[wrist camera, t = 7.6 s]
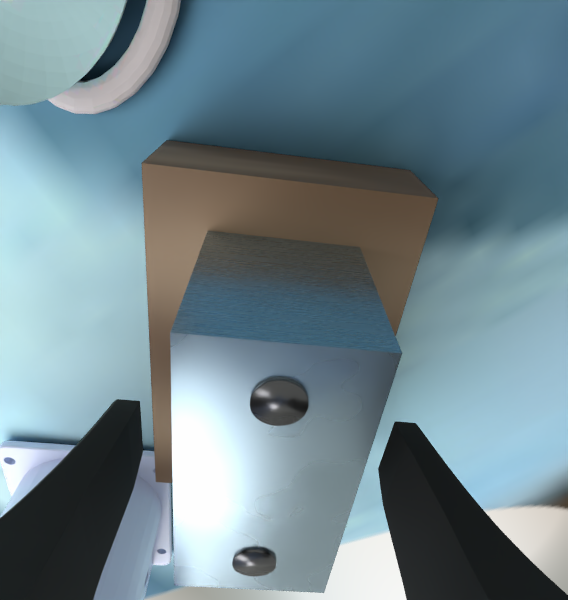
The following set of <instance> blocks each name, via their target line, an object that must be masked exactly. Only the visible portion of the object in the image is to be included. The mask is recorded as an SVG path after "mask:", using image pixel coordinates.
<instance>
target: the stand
mask: <svg viewBox="0 0 568 600" xmlns="http://www.w3.org/2000/svg"><path fill="white" fill-rule="evenodd" d="M142 181H143V204H144V226H145V249H146V272H147V295H148V317H149V340H150V363H151V386H152V408H153V431H154V454H155V477H156V482H162V483H173V475H172V413H171V350H170V332H171V329H172V326H173V324H174V321H175V318H176V315H177V313H178V310H179V307H180V305H181V302H182V299H183V296H184V294H185V291H186V288H187V285H188V283H189V280H190V277H191V275H192V272H193V269H194V266H195V264H196V261H197V258H198V256H199V253H200V250H201V247H202V245H203V242H204V239H205V236H206V234H207V231H217V232H226V233H235V234H244V235H254V236H263V237H272V238H282V239H291V240H300V241H309V242H319V243H328V244H337V245H347V246H356V247H360V248H361V251H362V253H363V256H364V258H365V261H366V264H367V266H368V269H369V271H370V274H371V276H372V279H373V281H374V284H375V286H376V289H377V291H378V294H379V296H380V299H381V302H382V304H383V307H384V309H385V312H386V314H387V317H388V319H389V322H390V324H391V327H392V329H393V332H394V335H395V336H396V333H397V330H398V327H399V323H400V320H401V317H402V314H403V311H404V307H405V304H406V301H407V298H408V295H409V291H410V288H411V285H412V282H413V278H414V275H415V272H416V269H417V266H418V262H419V259H420V256H421V253H422V250H423V246H424V243H425V240H426V237H427V233H428V230H429V227H430V224H431V221H432V217H433V214H434V211H435V208H436V205H437V201H438V198H437V197H436V196H435V195H434V194H433V193H432V192H431V191H430V190H429V189H428V188H427V187H426V186H425V185H424V184H423V183H422V182H421V181H420V180H419V179H418V178H417V177H416V176H415V175H414V174H413V173H412V172H411V171H410V170H405V169H397V168H389V167H380V166H372V165H364V164H356V163H348V162H340V161H332V160H324V159H316V158H308V157H299V156H291V155H283V154H275V153H267V152H259V151H251V150H243V149H235V148H227V147H218V146H210V145H202V144H194V143H186V142H178V141H170V140H166V141H165V142H164V143H163V144H162V145H161V146H160V147H159V148H158V149H157V150H155V151H154V152H153V153H152V154H151V155H150V156H149V157H148V158H147V159H146V160H144V161H143V162H142Z"/></svg>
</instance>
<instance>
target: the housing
mask: <svg viewBox="0 0 568 600" xmlns="http://www.w3.org/2000/svg"><path fill="white" fill-rule="evenodd" d="M170 350H171V413H172V475H173V538H174V585H176V586H196V587H198V586H199V587H217V588H237V589H258V590H259V589H260V590H278V591H299V592H318V593H324V591H325V588H326V585H327V582H328V579H329V575H330V573H331V570H332V566H333V563H334V560H335V557H336V554H337V551H338V548H339V545H340V542H341V539H342V536H343V533H344V530H345V527H346V524H347V521H348V517H349V514H350V511H351V508H352V505H353V502H354V499H355V496H356V493H357V490H358V487H359V484H360V481H361V478H362V475H363V471H364V468H365V465H366V462H367V459H368V456H369V453H370V450H371V447H372V444H373V441H374V438H375V435H376V432H377V429H378V425H379V422H380V419H381V416H382V413H383V410H384V407H385V404H386V401H387V398H388V395H389V392H390V389H391V386H392V383H393V379H394V376H395V373H396V370H397V367H398V364H399V361H400V358H401V355H402V352H401V350H400V347H399V345H398V342H397V340H396V337H395V335H394V332H393V329H392V327H391V324H390V322H389V319H388V317H387V314H386V312H385V309H384V307H383V304H382V302H381V299H380V296H379V294H378V291H377V289H376V286H375V284H374V281H373V279H372V276H371V274H370V271H369V269H368V266H367V264H366V261H365V258H364V256H363V253H362V251H361V248H360V247H356V246H347V245H337V244H328V243H319V242H309V241H300V240H291V239H282V238H272V237H263V236H254V235H244V234H235V233H226V232H217V231H207V234H206V236H205V239H204V242H203V245H202V247H201V250H200V253H199V256H198V258H197V261H196V264H195V266H194V269H193V272H192V275H191V277H190V280H189V283H188V285H187V288H186V291H185V294H184V296H183V299H182V302H181V305H180V307H179V310H178V313H177V315H176V318H175V321H174V324H173V326H172V329H171V332H170Z"/></svg>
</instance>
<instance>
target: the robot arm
mask: <svg viewBox="0 0 568 600" xmlns="http://www.w3.org/2000/svg"><path fill="white" fill-rule="evenodd" d="M0 463H1V466H2V469H3V472H4V476H5V479H6V482H7V485H8V488H9V491H10V495H11V499H10V501H9V502H8V504H7V506H6V507H5V509H4V511H3V513H2V514H1V516H0V600H144V598H145V594H146V590H147V585H148V581H149V577H150V573H151V569H152V565H167V564H169V563H170V562H171V558H172V527H171V483H162V482H156V477H155V454H154V451H147V450H143V444H142V428H141V412H140V401H132V400H119V399H117V400H116V401H114V402H113V403H112V404H111V406H110V407H109V408H108V409H107V411H106V412H105V413H104V414H103V415H102V416H101V418H100V419H99V420H98V421H97V422H96V424H95V425H94V426H93V427H92V428H91V429H90V430H89V431H88V433H87V434H86V435H85V436H84V437H83V438H82V439H81V440H80V441H79V443H78V444H77V445H64V444H50V443H36V442H22V441H4V442H2V443H1V445H0ZM378 470H379V478H380V486H381V494H382V500H383V506H384V510H385V514H386V518H387V522H388V526H389V530H390V534H391V538H392V542H393V546H394V549H395V553H396V558H397V561H398V565H399V569H400V573H401V577H402V581H403V585H404V589H405V594H406V598H407V600H568V595H567V594H566V593H565V592H564V591H562V590H561V589H560V588H559V587H558V586H557V585H556V584H555V583H554V582H553V581H551V580H550V579H549V578H548V577H547V576H546V575H545V574H544V573H543V572H542V571H541V570H539V568H537V566H535V565H534V564H533V563H532V562H531V561H530V560H529V559H528V558H527V557H526V556H525V555H524V554H523V553H522V552H521V551H520V550H519V548H518V547H516V546H515V544H513V543H512V541H511V540H510V539H509V538H508V537H507V536H506V535H505V534H504V533H503V532H502V531H501V530H500V529H499V528H498V526H496V524H495V523H494V522H493V521H492V520H491V519H490V517H489V516H488V515H487V514H486V513H485V512H484V511H483V509H482V508H481V507H480V506H479V505H478V504H477V502H476V501H475V500H474V499H473V498H472V496H471V495H470V494H469V493H468V491H467V490H466V489H465V488H464V486H463V485H462V484H461V483H460V481H459V480H458V479H457V477H456V476H455V475H454V474H453V472H452V471H451V470H450V468H449V467H448V466H447V465H446V463H445V462H444V461H443V459H442V458H441V457H440V455H439V454H438V453H437V451H436V450H435V448H434V447H433V446H432V444H431V443H430V442H429V440H428V439H427V438H426V436H425V435H424V434H423V432H422V431H421V430H420V428H419V427H418V426H417V424H416V423H407V422H395V423H394V426H393V429H392V431H391V434H390V437H389V440H388V443H387V445H386V448H385V451H384V454H383V457H382V460H381V462H380V465H379V468H378Z"/></svg>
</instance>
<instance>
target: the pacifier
mask: <svg viewBox="0 0 568 600" xmlns="http://www.w3.org/2000/svg"><path fill="white" fill-rule="evenodd" d="M180 2H181V0H146V5H145V8H144V12H143V15H142V18H141V21H140V25H139V28H138V30H137V32H136V34H135V36H134V38H133V40H132V42H131V44H130V46H129V48H128V49H127V50H126V52H125V53H124V54H123V56H122V57H121V58H120V59H119V61H118V62H117V63H116V64H115V66H113V67H112V68H111V69H109V70H108V71H107V72H106V73H104V74H103V75H102V76H101V77H98V78H96V79H93V80H87V81H79V80H80V79H81V78H83V77H84V76H85V75H86V74H87V73H88V72H89V71H90V70H91V69H92V68H93V67H94V65H95V64H96V63H97V61H98V60H99V59H100V57H101V56H102V55H103V53H104V52H105V50H106V49H107V47H108V46H109V44H110V42H111V41H112V39H113V37H114V34H115V32H116V30H117V28H118V25H119V23H120V21H121V18H122V15H123V12H124V9H125V6H126V3H127V0H0V105H13V106H18V105H29V104H35V103H38V102H41V101H44V100H47V99H48V100H49V101H50V102H51V103H53V104H54V105H55V106H57V107H59V108H62V109H64V110H67V111H70V112H72V113H75V114H97V113H100V112H103V111H106V110H109V109H112V108H115V107H117V106H119V105H120V104H121V103H123V102H124V101H126V100H127V99H128V98H130V97H131V96H133V95H134V94H135V93H136V92H137V91H138V90H139V89H140V88H141V87H142V85H143V84H144V83H145V82H146V81H147V80H148V78H149V77H150V76H151V75H152V74H153V72H154V71H155V69H156V67H157V65H158V63H159V62H160V60H161V58H162V56H163V54H164V53H165V51H166V49H167V47H168V45H169V42H170V39H171V36H172V33H173V30H174V27H175V24H176V21H177V18H178V15H179V8H180Z"/></svg>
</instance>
